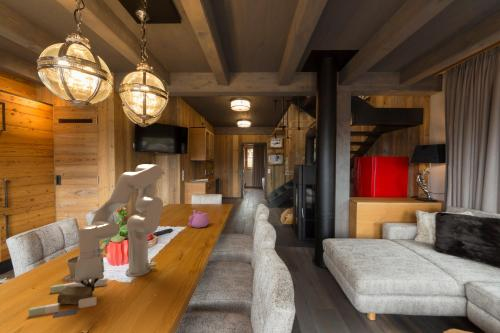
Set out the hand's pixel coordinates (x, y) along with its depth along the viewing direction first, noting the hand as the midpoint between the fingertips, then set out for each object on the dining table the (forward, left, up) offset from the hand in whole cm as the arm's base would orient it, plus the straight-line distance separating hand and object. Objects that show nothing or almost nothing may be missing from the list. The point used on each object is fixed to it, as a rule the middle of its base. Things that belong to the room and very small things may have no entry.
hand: (90, 293), depth 100 cm
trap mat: (+5, +11, -1) cm, 12 cm away
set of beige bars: (+6, 0, -1) cm, 6 cm away
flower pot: (+12, -24, -1) cm, 27 cm away
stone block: (+8, +3, -2) cm, 8 cm away
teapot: (-60, -98, -1) cm, 115 cm away
